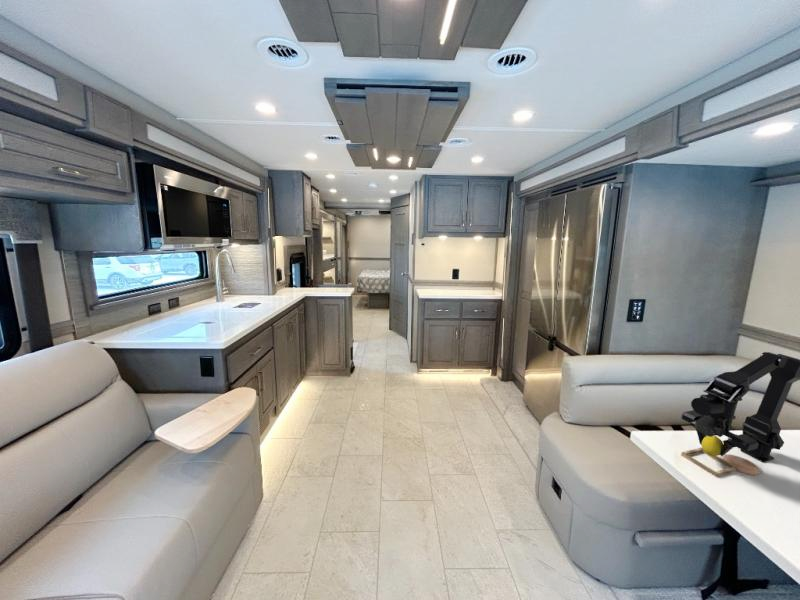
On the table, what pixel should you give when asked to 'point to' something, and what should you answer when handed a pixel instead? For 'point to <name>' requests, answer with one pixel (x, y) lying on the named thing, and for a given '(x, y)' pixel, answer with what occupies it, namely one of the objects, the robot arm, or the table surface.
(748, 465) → the saucer
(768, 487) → the table surface
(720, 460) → the wooden picture frame
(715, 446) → the lemon
